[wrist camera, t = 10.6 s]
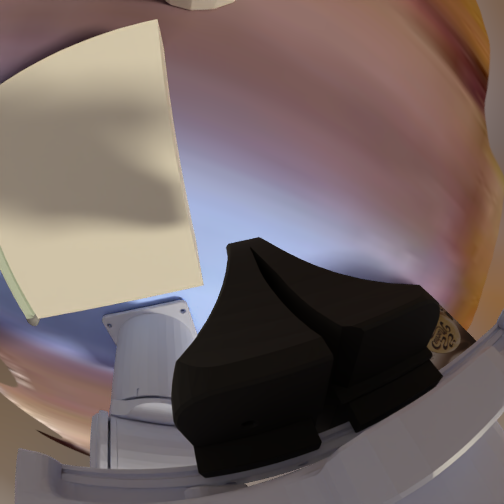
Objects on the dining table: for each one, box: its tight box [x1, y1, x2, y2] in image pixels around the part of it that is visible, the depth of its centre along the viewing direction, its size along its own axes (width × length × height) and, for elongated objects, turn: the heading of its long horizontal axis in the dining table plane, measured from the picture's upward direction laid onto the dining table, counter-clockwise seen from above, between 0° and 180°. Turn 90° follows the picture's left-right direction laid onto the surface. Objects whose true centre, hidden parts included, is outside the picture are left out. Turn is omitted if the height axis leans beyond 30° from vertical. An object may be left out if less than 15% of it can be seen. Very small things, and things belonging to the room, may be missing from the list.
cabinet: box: [0, 19, 204, 319], centre depth 13 cm, size 14×12×6 cm
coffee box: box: [427, 305, 476, 370], centre depth 25 cm, size 9×6×16 cm
